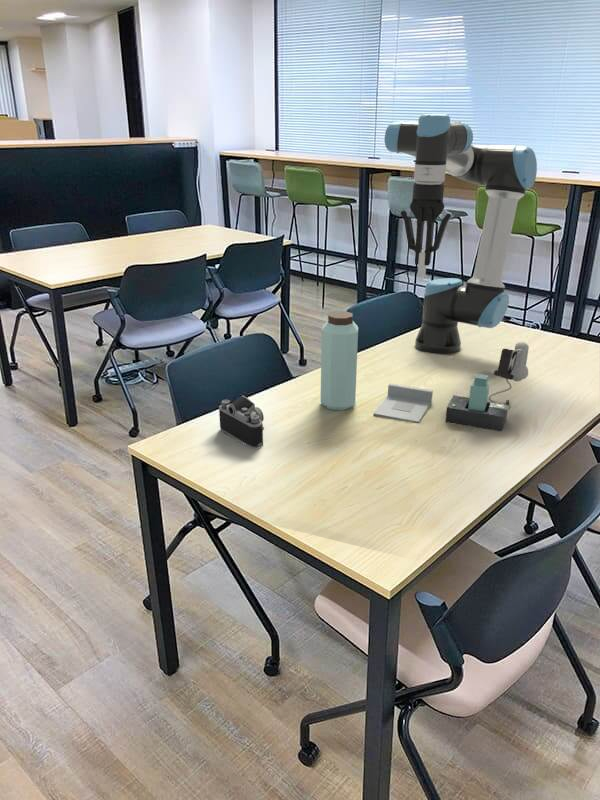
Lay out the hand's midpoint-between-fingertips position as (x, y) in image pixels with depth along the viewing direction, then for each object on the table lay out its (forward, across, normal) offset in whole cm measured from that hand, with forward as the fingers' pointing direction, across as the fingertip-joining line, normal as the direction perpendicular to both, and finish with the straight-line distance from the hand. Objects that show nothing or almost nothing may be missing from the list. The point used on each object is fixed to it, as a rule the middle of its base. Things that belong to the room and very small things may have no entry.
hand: (421, 277), depth 166 cm
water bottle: (+33, -16, -17) cm, 40 cm away
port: (+32, +20, -13) cm, 40 cm away
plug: (+32, +20, -13) cm, 40 cm away
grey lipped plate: (+32, +1, -13) cm, 35 cm away
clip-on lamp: (+33, +26, -2) cm, 41 cm away
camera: (+33, -30, -42) cm, 61 cm away
